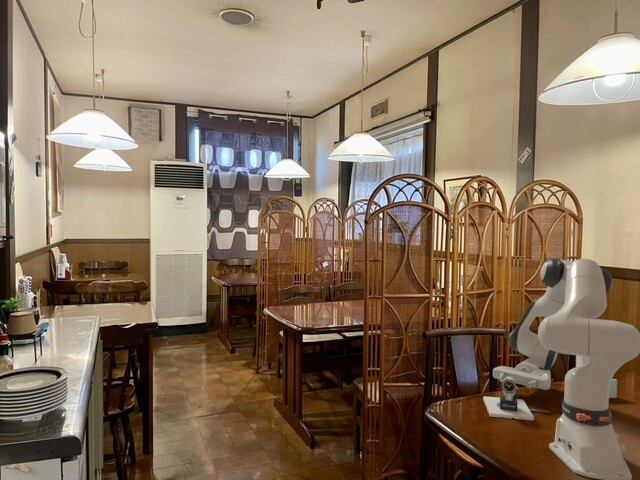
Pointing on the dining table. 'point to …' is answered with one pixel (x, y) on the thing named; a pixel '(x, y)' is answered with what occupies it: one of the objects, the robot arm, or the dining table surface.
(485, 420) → the dining table surface
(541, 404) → the dining table surface
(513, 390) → the watch
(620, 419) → the dining table surface
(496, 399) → the charging pad
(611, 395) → the right angle wall
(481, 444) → the dining table surface
